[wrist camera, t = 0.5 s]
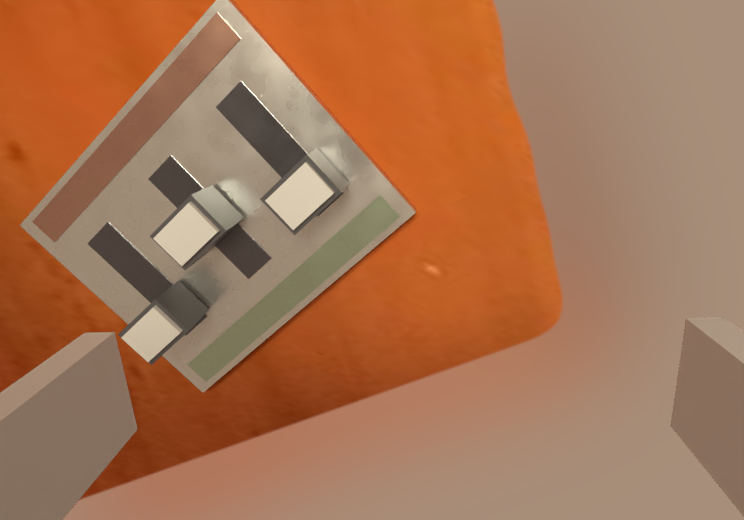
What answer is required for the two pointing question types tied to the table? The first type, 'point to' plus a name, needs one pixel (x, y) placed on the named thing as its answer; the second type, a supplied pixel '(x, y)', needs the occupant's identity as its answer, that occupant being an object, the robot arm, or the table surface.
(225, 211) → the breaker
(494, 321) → the table surface
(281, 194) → the block
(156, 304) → the breaker
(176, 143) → the panel
